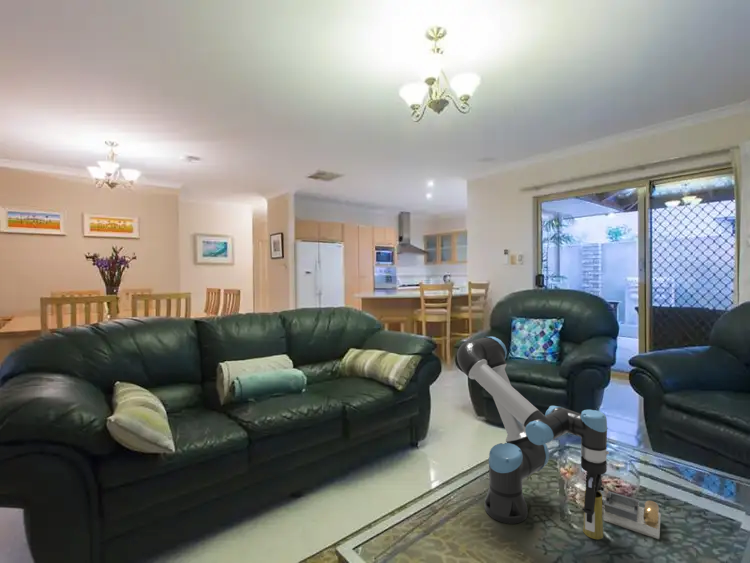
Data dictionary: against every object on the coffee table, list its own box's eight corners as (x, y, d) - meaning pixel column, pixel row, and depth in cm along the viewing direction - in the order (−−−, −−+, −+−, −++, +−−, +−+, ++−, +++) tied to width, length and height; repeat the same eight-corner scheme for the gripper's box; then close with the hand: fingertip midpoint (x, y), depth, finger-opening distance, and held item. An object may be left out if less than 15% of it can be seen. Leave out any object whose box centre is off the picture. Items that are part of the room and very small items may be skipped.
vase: (606, 540, 130) (606, 499, 129) (586, 538, 131) (586, 497, 130) (599, 528, 136) (600, 488, 135) (580, 526, 137) (580, 486, 136)
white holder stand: (603, 520, 139) (603, 500, 139) (607, 505, 147) (607, 486, 147) (659, 539, 129) (659, 518, 129) (660, 522, 137) (660, 502, 137)
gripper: (600, 479, 119) (600, 545, 121) (611, 445, 139) (611, 503, 140) (573, 471, 124) (573, 535, 125) (587, 440, 143) (587, 496, 145)
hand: (593, 518), depth 133 cm, fingers open, 12 cm apart
